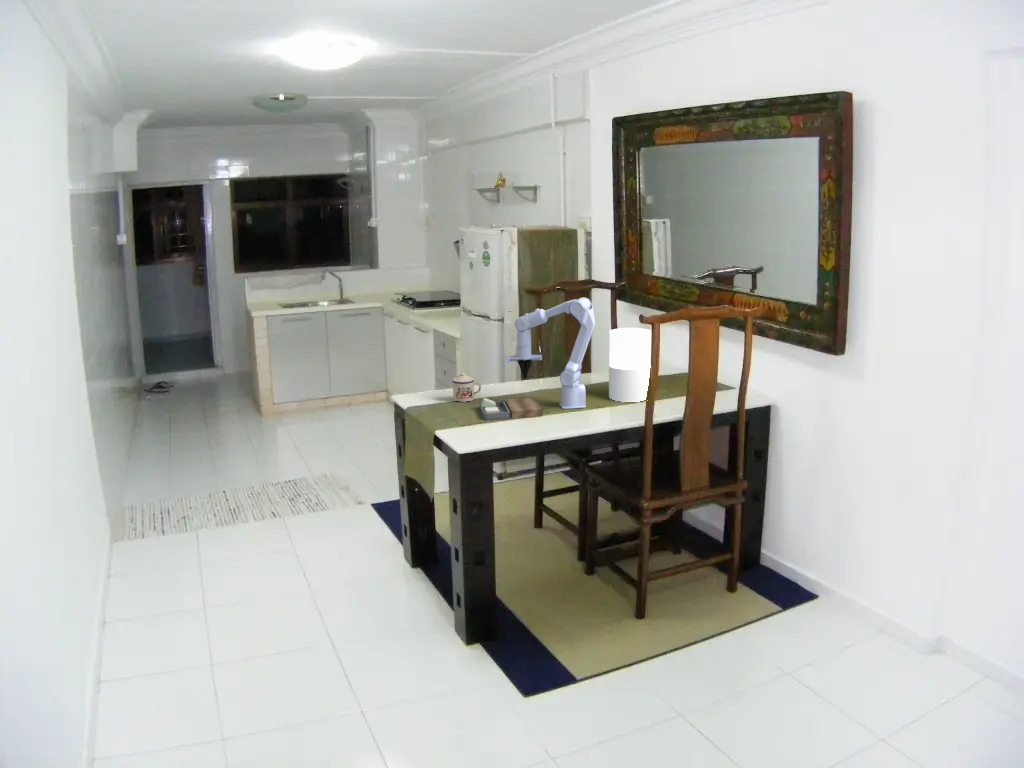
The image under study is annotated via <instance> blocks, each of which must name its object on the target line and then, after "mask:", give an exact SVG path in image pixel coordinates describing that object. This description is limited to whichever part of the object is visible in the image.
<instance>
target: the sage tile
mask: <svg viewBox="0 0 1024 768" xmlns="http://www.w3.org/2000/svg"><path fill="white" fill-rule="evenodd" d="M480 402H481V404H482V406H483V407H486V408H489V407H495V406H496V403H495V402H494V400H491V399H489V398H486V397H484V396H483V398H482V400H481V401H480Z"/></svg>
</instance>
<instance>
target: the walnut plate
mask: <svg viewBox="0 0 1024 768" xmlns="http://www.w3.org/2000/svg"><path fill="white" fill-rule="evenodd" d="M504 402H505V404H506V406H507V407H508V409H509V411H510V417H511V419H525V418H526V417H528V418H540V417H539V416H542V417H543V408H542V407H541V406H540V404H539V402H538V401H537V399H536V398H535V397H522V398H521V397H520V398H507V399H504Z"/></svg>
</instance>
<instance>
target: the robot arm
mask: <svg viewBox="0 0 1024 768" xmlns="http://www.w3.org/2000/svg"><path fill="white" fill-rule="evenodd" d="M563 313H566V314H569V315H570V314H571V315H572V316H573V317H575V318H576V320H578V322H579V323H580V328H579V330H578V331H579V332H578V334H577V337H576V339H575V342H574V345H573V349H572V351H571V354H570V358H569V360H568V362H567V363H566V365H565V368H564V370H563V371H562V372H561V373H560V375H559V381H560V383H561V402H559V403H558V404H559V406H560V407H561V408H562V409H563V410H569V409H582V408H587V405H586V403H587V401H586V399H587V397H586V393H587V392H586V386H585V384H583V383H582V384H581V383H580V379H581V377H582V367H583V366H582V364H583V360H584V356H585V354H586V351H587V348H588V345H589V343H590V340H591V337H592V334H593V332H594V329H595V325H596V320H595V319H596V318H595V313H594V305H593V304H592V302H591V300H590V299H589V298H587V297H584V296H583V297H579V298H578V299H577V298H575V299H570V300H567V301H565V302H562V303H560V304H558V305H556V306H553V307H551V308H549V309H546V310H545V309H543V308H536V309H534V311H532V312H530V313H528V312H527V313H524V315H522V316H519V317H518V318H516V319H515V321H514V327H515V328H514V329H516V353H517V354H516V355H509V356H506V358H505V359H506V362H507V363H510V362H517V363H518V366H519V368H520V371H521V376H522V378H523V379H525V380H526V379H528V373H529V371H530V367H531V365H532V361H543V355H542V354H532V331H531V330H532V328H535V327H538V326H540V325H542V324H545V323H547V322H548V319H549V318H551V317H555V316H557V315H559V314H563Z"/></svg>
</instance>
